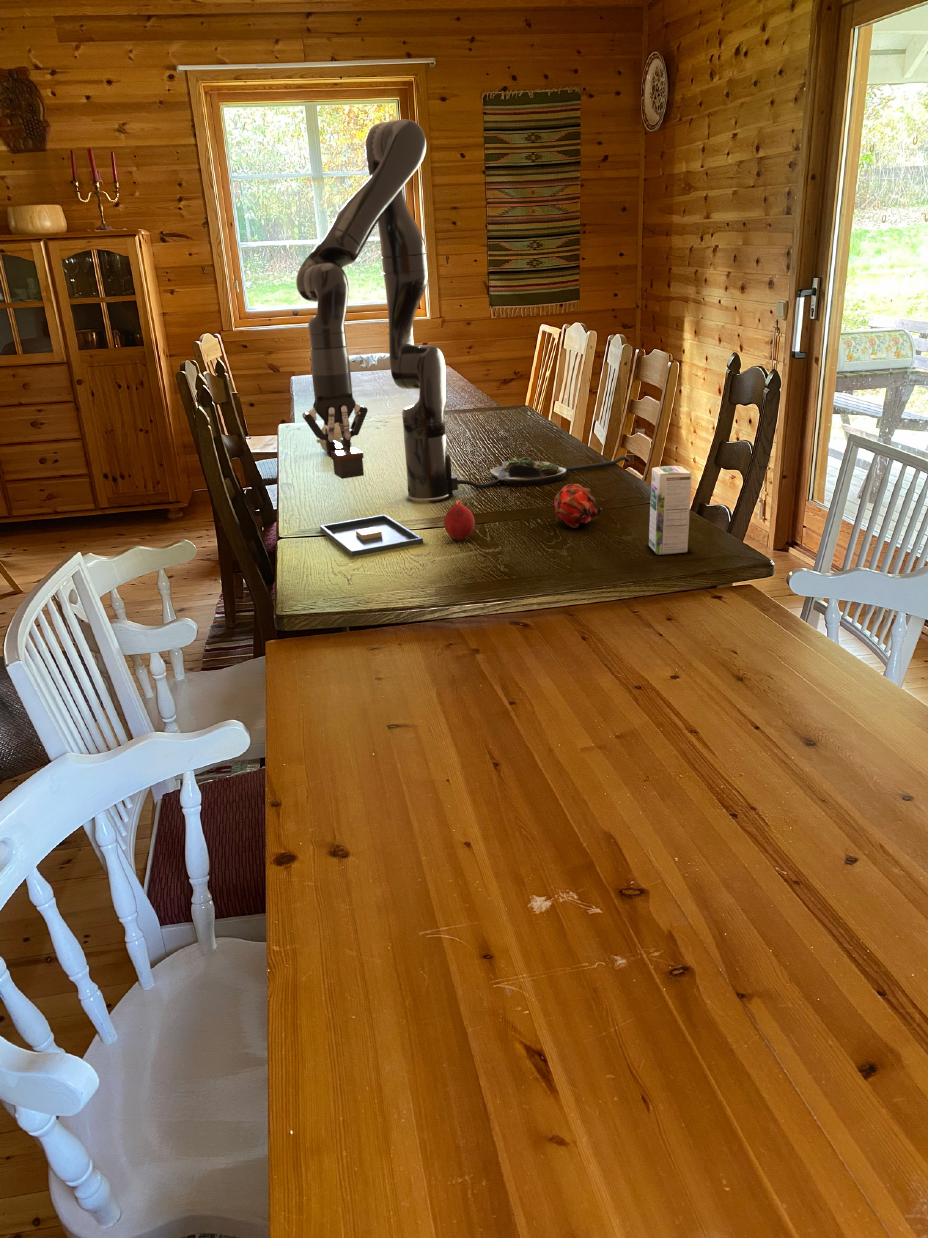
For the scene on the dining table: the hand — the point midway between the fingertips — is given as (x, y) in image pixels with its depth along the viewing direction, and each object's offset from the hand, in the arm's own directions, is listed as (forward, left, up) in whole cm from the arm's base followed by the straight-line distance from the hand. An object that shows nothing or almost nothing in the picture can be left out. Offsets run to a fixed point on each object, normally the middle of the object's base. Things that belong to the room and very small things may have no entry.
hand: (340, 457), depth 186 cm
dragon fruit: (-38, +29, -14) cm, 50 cm away
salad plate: (-49, -11, -14) cm, 52 cm away
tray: (0, +14, -14) cm, 19 cm away
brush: (0, +1, -2) cm, 3 cm away
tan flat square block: (0, +13, -13) cm, 19 cm away
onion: (-14, +26, -14) cm, 33 cm away
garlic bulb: (-20, -71, -14) cm, 75 cm away
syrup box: (-43, +52, -14) cm, 69 cm away
